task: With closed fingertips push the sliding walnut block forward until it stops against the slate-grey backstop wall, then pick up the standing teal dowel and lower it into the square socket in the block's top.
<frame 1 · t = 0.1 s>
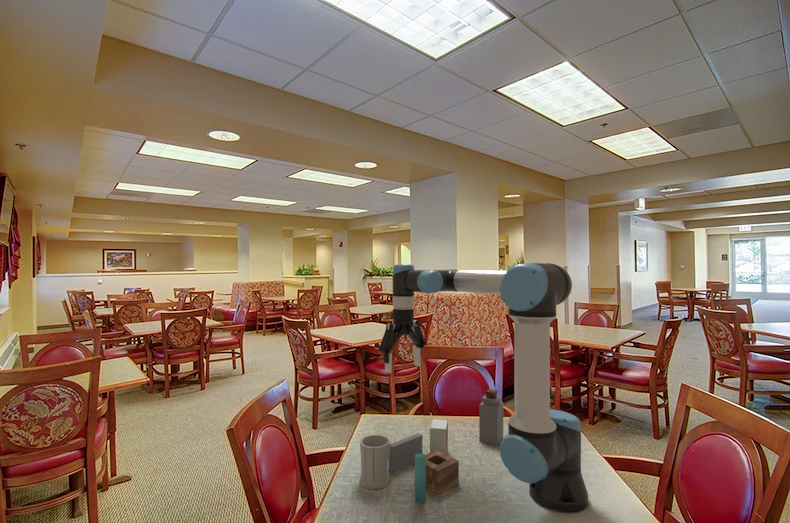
hand: (403, 368, 137), 28 cm above the table, fingers open, 13 cm apart
cup: (375, 480, 117), on the table
backstop wall: (405, 464, 126), on the table
perfume bottle: (491, 440, 144), on the table
dowel: (420, 500, 107), on the table
small box: (439, 455, 133), on the table
block: (437, 470, 116), point 3 cm above the table, slide at 0.0 cm
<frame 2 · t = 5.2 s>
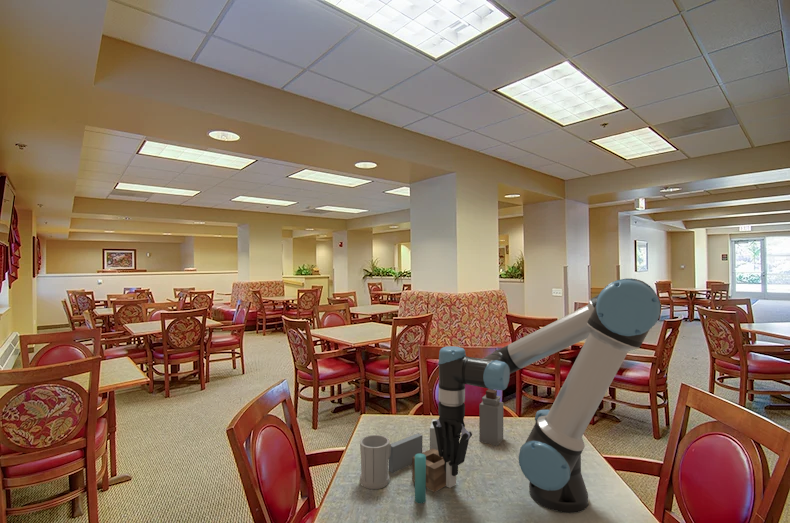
hand: (451, 484, 112), 2 cm above the table, fingers closed
block: (433, 469, 117), point 3 cm above the table, slide at 1.4 cm, touching gripper
everything else where it was.
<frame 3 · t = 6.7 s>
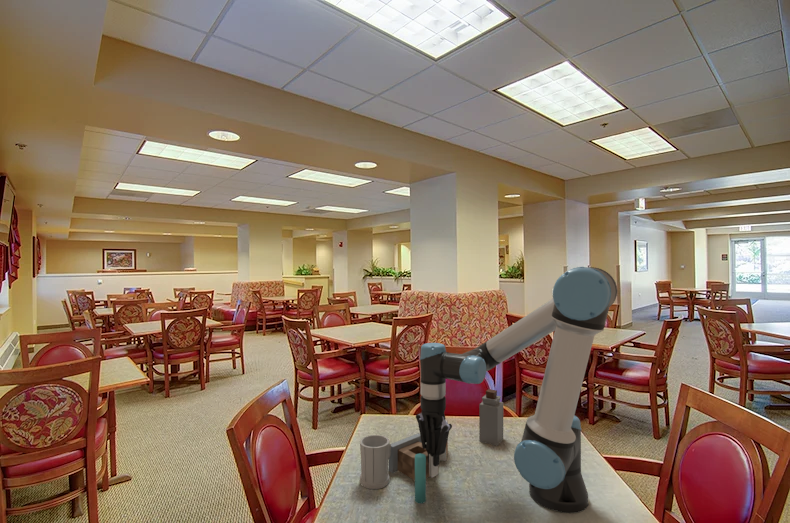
hand: (433, 475, 117), 2 cm above the table, fingers closed
block: (417, 460, 122), point 3 cm above the table, slide at 8.0 cm, touching backstop wall, gripper
everything else where it was.
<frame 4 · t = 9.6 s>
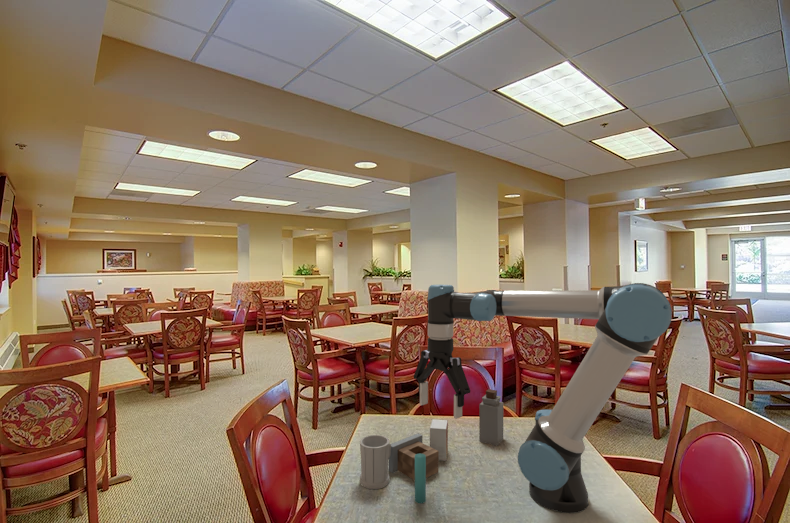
hand: (440, 410, 114), 22 cm above the table, fingers open, 13 cm apart
block: (417, 460, 122), point 3 cm above the table, slide at 8.0 cm
everything else where it was.
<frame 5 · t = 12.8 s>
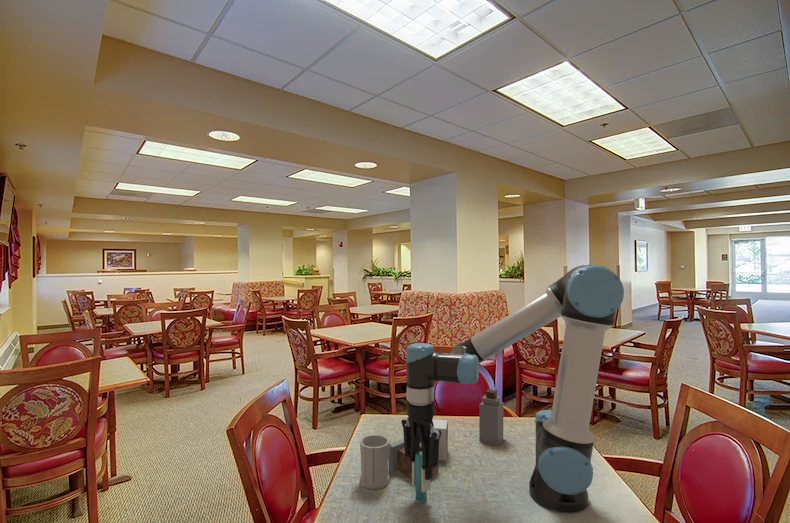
hand: (421, 487, 107), 4 cm above the table, fingers closed on dowel, 3 cm apart
dowel: (421, 498, 107), point 1 cm above the table, touching gripper
everything else where it was.
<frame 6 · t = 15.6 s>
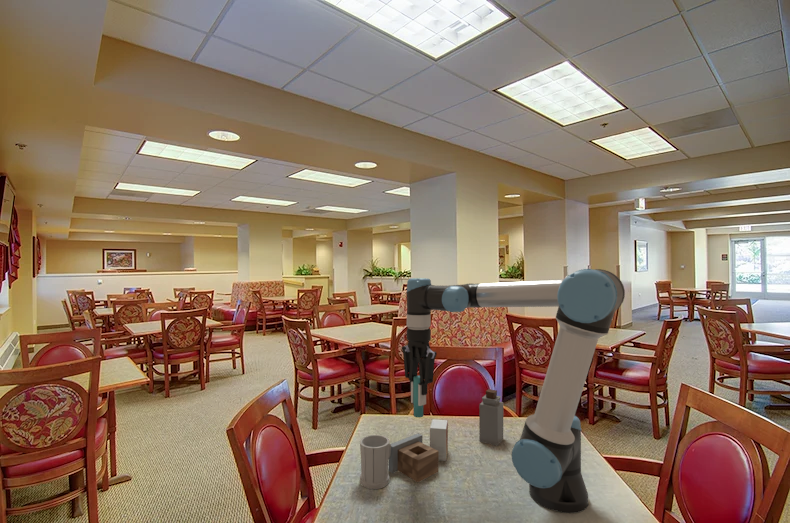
hand: (418, 403, 122), 21 cm above the table, fingers closed on dowel, 2 cm apart
dowel: (418, 415, 122), point 17 cm above the table, touching gripper
everything else where it was.
when the fingers open (8 cm above the table, at t = 18.6 s): dowel drops 3 cm, resting on block.
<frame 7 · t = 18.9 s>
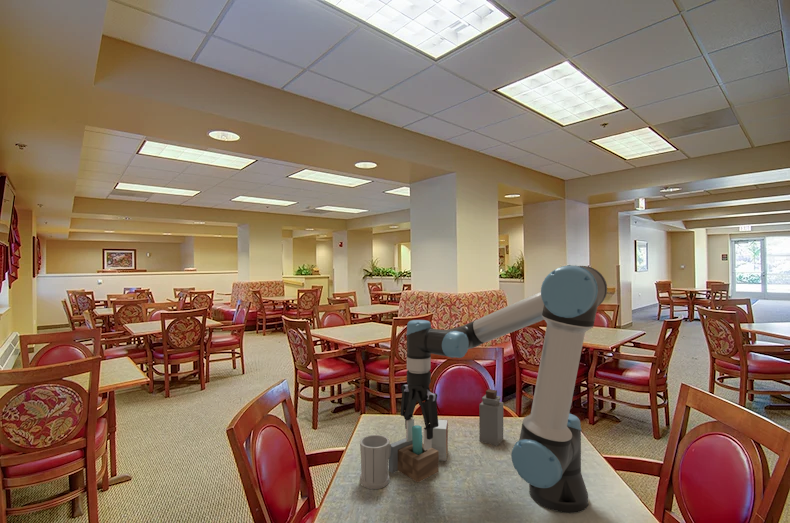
hand: (418, 444, 122), 9 cm above the table, fingers open, 7 cm apart
dowel: (418, 466, 122), point 2 cm above the table, touching block
block: (418, 460, 122), point 3 cm above the table, slide at 8.0 cm, touching dowel
everything else where it was.
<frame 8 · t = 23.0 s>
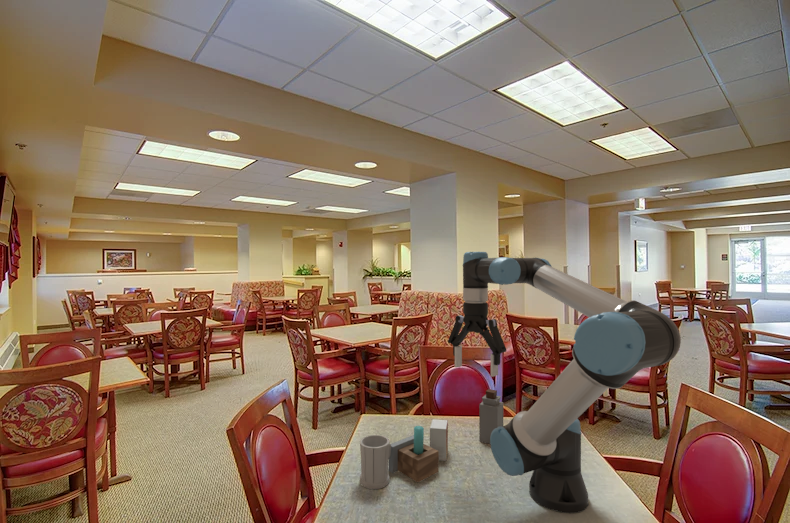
hand: (475, 371, 120), 32 cm above the table, fingers open, 13 cm apart
nothing on the table moved.
at the end: dowel 0.1 cm off-centre on the block, point 1.6 cm above the block's base; block slide at 8.0 cm; dowel tilted 1° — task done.
